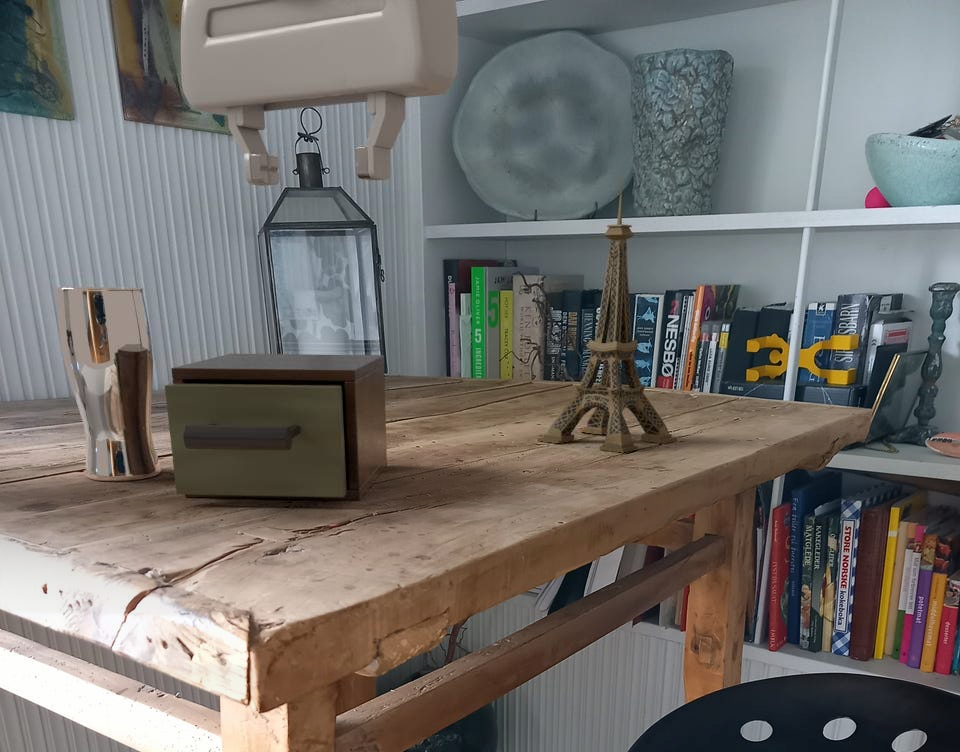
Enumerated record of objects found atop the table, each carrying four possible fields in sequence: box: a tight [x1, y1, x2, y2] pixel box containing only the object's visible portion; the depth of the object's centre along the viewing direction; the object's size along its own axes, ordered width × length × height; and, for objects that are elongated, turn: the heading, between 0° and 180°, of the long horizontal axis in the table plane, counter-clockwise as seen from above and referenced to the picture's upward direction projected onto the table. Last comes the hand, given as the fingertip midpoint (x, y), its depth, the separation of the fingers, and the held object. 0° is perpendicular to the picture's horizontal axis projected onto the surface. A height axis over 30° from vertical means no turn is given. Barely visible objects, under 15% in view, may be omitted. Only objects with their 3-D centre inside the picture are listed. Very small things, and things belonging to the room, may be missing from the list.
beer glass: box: [55, 286, 162, 482], centre depth 77 cm, size 7×7×15 cm
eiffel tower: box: [537, 177, 678, 454], centre depth 94 cm, size 11×11×25 cm
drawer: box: [164, 380, 349, 497], centre depth 71 cm, size 18×12×8 cm
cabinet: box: [170, 353, 388, 501], centre depth 77 cm, size 15×14×10 cm
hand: (316, 182), depth 62 cm, fingers open, 8 cm apart
